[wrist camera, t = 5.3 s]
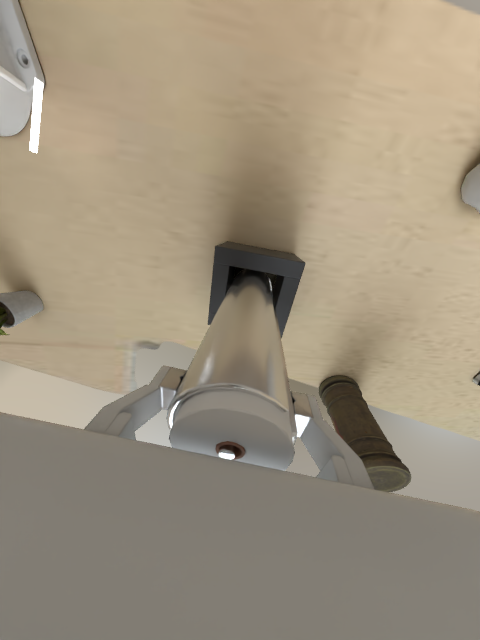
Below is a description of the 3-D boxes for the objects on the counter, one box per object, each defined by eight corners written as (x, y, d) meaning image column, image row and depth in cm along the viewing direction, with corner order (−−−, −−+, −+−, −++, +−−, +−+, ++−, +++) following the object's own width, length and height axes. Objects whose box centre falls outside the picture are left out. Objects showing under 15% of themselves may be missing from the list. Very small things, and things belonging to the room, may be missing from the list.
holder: (226, 241, 32) (215, 245, 24) (294, 254, 32) (305, 262, 24) (219, 304, 37) (207, 324, 29) (277, 315, 37) (281, 339, 29)
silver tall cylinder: (235, 264, 29) (150, 390, 7) (276, 271, 29) (327, 425, 7) (229, 301, 32) (158, 475, 10) (266, 309, 32) (279, 500, 10)
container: (332, 369, 42) (377, 457, 26) (366, 384, 42) (429, 478, 26) (310, 394, 46) (337, 483, 30) (341, 406, 47) (383, 500, 31)
